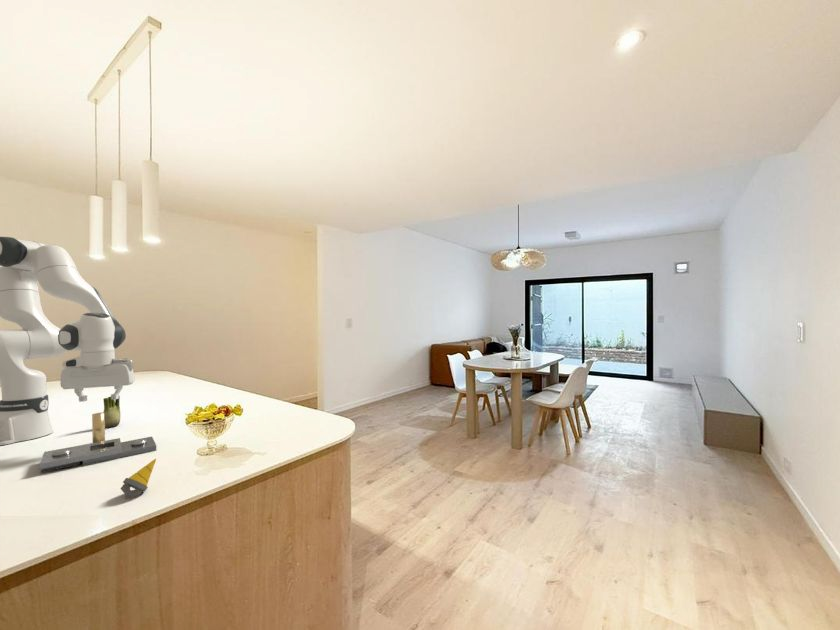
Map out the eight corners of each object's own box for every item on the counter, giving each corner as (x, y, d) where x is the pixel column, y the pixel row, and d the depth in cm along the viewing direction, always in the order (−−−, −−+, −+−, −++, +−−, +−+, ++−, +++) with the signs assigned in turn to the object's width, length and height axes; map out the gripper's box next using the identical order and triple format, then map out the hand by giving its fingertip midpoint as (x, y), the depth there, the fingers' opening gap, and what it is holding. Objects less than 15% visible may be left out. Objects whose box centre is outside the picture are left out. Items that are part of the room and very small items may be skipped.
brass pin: (90, 444, 122) (89, 415, 122) (96, 441, 126) (96, 412, 126) (101, 443, 123) (100, 414, 123) (107, 440, 126) (106, 412, 126)
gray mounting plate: (39, 474, 99) (39, 461, 99) (44, 461, 108) (44, 449, 108) (156, 450, 117) (156, 438, 117) (152, 440, 126) (151, 429, 126)
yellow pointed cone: (116, 497, 88) (148, 457, 94) (138, 505, 88) (167, 465, 95) (110, 492, 84) (143, 451, 90) (132, 500, 84) (164, 459, 91)
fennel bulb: (119, 423, 146) (119, 394, 146) (122, 426, 143) (122, 395, 143) (100, 427, 142) (100, 396, 142) (103, 429, 139) (103, 398, 139)
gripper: (137, 357, 129) (138, 395, 129) (70, 360, 125) (71, 400, 125) (127, 359, 123) (128, 399, 123) (56, 362, 119) (57, 404, 119)
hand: (99, 400), depth 124 cm, fingers open, 8 cm apart
